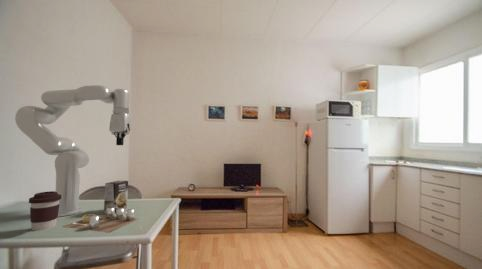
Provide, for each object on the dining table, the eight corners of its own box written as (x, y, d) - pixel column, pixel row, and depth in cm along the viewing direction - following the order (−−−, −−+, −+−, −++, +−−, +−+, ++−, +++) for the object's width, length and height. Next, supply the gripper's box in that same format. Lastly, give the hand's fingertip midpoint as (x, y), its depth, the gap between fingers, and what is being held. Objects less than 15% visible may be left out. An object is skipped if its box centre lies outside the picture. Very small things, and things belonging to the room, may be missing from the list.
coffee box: (114, 216, 103) (115, 183, 104) (103, 215, 104) (104, 182, 105) (127, 211, 112) (128, 180, 113) (117, 210, 113) (118, 180, 114)
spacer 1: (87, 229, 84) (87, 217, 84) (94, 226, 87) (95, 215, 88) (93, 229, 83) (94, 218, 84) (100, 226, 86) (101, 215, 87)
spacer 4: (124, 220, 94) (124, 210, 94) (129, 218, 97) (130, 208, 97) (130, 221, 93) (130, 211, 93) (135, 219, 96) (136, 208, 96)
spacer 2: (104, 218, 96) (104, 208, 97) (110, 216, 99) (110, 206, 100) (110, 219, 96) (110, 209, 96) (116, 217, 99) (116, 207, 99)
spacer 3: (114, 219, 95) (114, 209, 95) (120, 217, 98) (120, 207, 98) (120, 220, 94) (120, 210, 95) (125, 217, 97) (126, 208, 98)
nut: (79, 222, 91) (79, 217, 91) (90, 218, 96) (90, 213, 96) (87, 223, 90) (87, 217, 90) (97, 219, 95) (98, 214, 95)
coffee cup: (65, 226, 90) (67, 191, 91) (39, 235, 80) (41, 196, 81) (48, 224, 92) (50, 189, 93) (20, 233, 83) (22, 194, 84)
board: (62, 229, 87) (62, 226, 87) (97, 217, 102) (97, 214, 102) (109, 235, 81) (109, 231, 81) (139, 221, 96) (139, 218, 96)
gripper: (104, 111, 114) (102, 145, 113) (127, 110, 110) (125, 145, 109) (115, 113, 121) (114, 145, 120) (137, 112, 118) (136, 145, 116)
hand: (119, 145), depth 115 cm, fingers closed
